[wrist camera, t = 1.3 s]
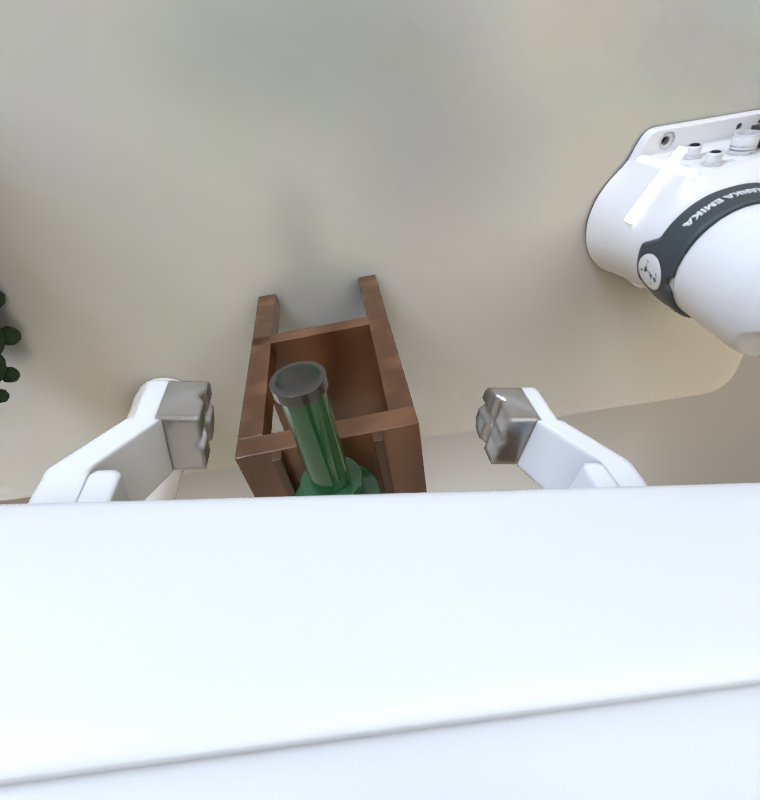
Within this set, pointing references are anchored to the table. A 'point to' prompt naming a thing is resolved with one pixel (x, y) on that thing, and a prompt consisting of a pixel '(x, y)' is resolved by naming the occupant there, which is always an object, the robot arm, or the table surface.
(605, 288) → the table surface
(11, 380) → the toy figurine
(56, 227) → the table surface
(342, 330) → the stand
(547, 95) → the table surface
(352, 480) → the bottle
